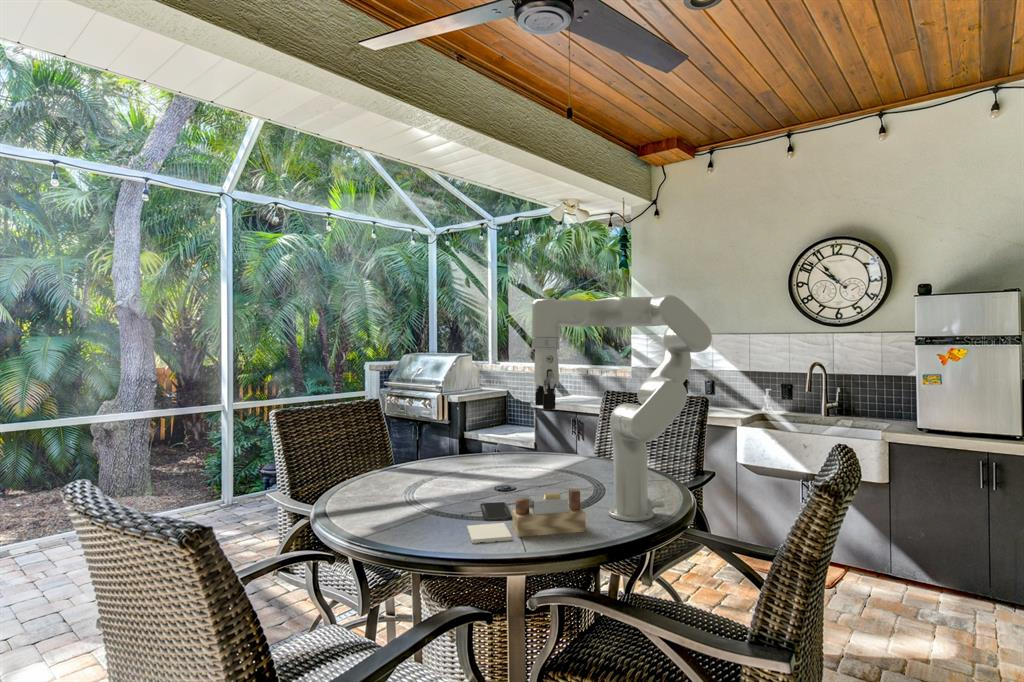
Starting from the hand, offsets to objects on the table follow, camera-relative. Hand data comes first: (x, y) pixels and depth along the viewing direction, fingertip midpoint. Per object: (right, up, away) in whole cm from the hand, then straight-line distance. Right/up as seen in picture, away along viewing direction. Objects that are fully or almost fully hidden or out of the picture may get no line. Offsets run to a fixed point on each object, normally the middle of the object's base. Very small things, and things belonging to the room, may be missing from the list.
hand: (544, 407), depth 157 cm
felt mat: (-15, -32, -8) cm, 36 cm away
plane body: (+1, -32, -5) cm, 32 cm away
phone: (-14, -33, +12) cm, 37 cm away
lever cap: (+1, -27, -5) cm, 27 cm away
